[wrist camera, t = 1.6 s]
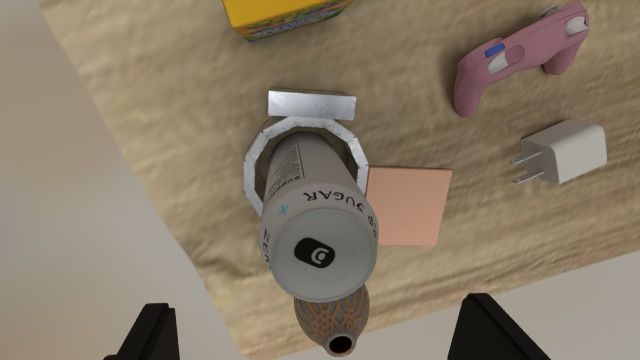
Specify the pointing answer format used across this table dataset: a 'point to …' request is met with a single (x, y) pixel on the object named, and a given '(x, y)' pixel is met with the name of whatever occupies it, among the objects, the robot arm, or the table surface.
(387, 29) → the table surface
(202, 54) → the table surface
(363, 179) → the ring holder
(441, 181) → the coaster
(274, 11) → the crayon box
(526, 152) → the usb wall charger
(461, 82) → the video game controller
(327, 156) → the energy drink can
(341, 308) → the vase
